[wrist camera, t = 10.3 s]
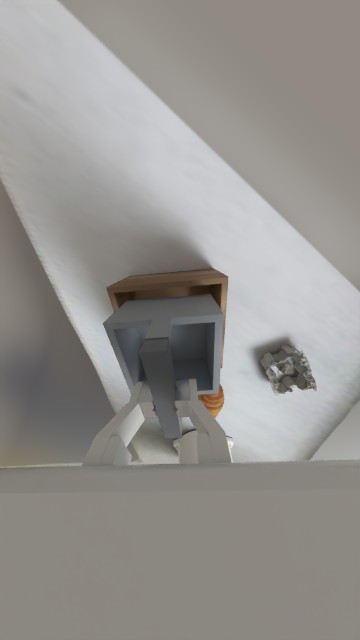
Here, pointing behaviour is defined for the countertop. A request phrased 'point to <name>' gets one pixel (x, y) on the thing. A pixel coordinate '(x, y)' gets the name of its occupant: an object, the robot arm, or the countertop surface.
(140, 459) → the countertop surface
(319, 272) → the countertop surface
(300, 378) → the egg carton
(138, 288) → the big crate
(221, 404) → the pastry
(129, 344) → the small crate
